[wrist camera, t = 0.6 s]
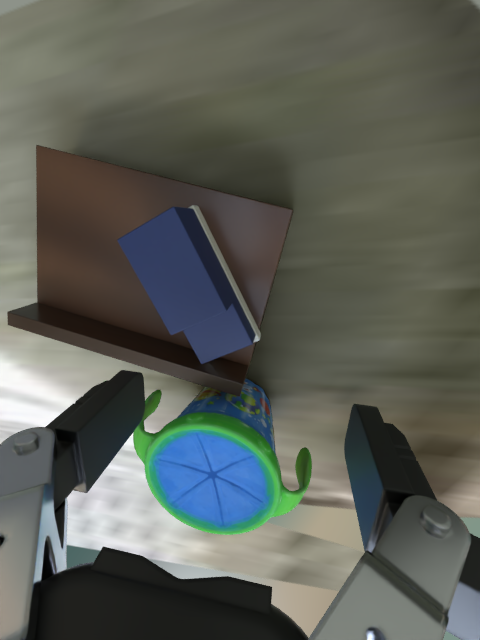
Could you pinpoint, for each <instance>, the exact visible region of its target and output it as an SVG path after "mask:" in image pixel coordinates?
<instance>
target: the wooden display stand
mask: <svg viewBox="0 0 480 640" xmlns="http://www.w3.org/2000/svg"><path fill="white" fill-rule="evenodd" d="M36 168H37V299H38V303H34V304H31V305H28V306H25V307H21V308H18V309H15V310H12V311H9V312H7V315H8V325H10V326H13V327H16V328H19V329H23V330H26V331H29V332H32V333H35V334H39V335H42V336H45V337H48V338H52V339H55V340H58V341H61V342H64V343H68V344H71V345H74V346H77V347H81V348H84V349H87V350H90V351H93V352H97V353H100V354H103V355H106V356H110V357H113V358H116V359H119V360H122V361H126V362H129V363H132V364H135V365H138V366H142V367H145V368H148V369H151V370H155V371H158V372H161V373H164V374H167V375H171V376H174V377H177V378H180V379H184V380H187V381H190V382H193V383H196V384H200V385H203V386H206V387H209V388H213V389H216V390H219V391H222V392H225V393H229V394H232V395H235V396H238V397H240V395H241V391H242V388H243V385H244V382H245V378H246V375H247V372H248V369H249V366H250V362H251V359H252V356H253V352H254V349H255V345H256V342H254V343H253V344H252V345H250V346H247V347H245V348H242V349H239V350H237V351H234V352H232V353H229V354H227V355H224V356H221V357H219V358H216V359H214V360H211V361H209V362H206V363H203V364H201V363H200V361H199V359H198V357H197V355H196V354H195V352H194V350H193V348H192V346H191V345H190V343H189V341H188V339H187V337H186V336H185V334H184V332H183V330H182V331H180V332H178V333H176V334H173V335H170V333H169V331H168V329H167V327H166V326H165V324H164V322H163V320H162V319H161V317H160V315H159V313H158V312H157V310H156V308H155V306H154V305H153V303H152V301H151V299H150V297H149V296H148V294H147V292H146V290H145V289H144V287H143V285H142V283H141V282H140V280H139V278H138V276H137V274H136V273H135V271H134V269H133V267H132V266H131V264H130V262H129V260H128V259H127V257H126V255H125V253H124V252H123V250H122V248H121V246H120V244H119V243H118V241H117V240H118V239H119V238H121V237H122V236H124V235H126V234H127V233H129V232H131V231H132V230H134V229H136V228H137V227H139V226H141V225H143V224H144V223H146V222H148V221H149V220H151V219H153V218H154V217H156V216H158V215H159V214H161V213H163V212H165V211H166V210H168V209H170V208H171V207H183V208H189V207H190V206H192V205H195V206H198V207H199V209H200V211H201V213H202V215H203V217H204V219H205V221H206V223H207V225H208V227H209V229H210V231H211V233H212V235H213V237H214V239H215V241H216V243H217V245H218V247H219V249H220V251H221V253H222V255H223V258H224V260H225V262H226V264H227V266H228V268H229V270H230V272H231V274H232V276H233V278H234V280H235V282H236V284H237V286H238V288H239V290H240V292H241V294H242V296H243V298H244V300H245V302H246V304H247V306H248V309H249V311H250V313H251V315H252V317H253V319H254V321H255V323H256V325H257V327H258V329H259V331H260V328H261V324H262V320H263V317H264V313H265V310H266V306H267V303H268V299H269V296H270V292H271V289H272V285H273V282H274V278H275V275H276V271H277V268H278V264H279V261H280V257H281V254H282V250H283V247H284V243H285V240H286V236H287V233H288V229H289V225H290V222H291V218H292V215H293V210H292V209H289V208H285V207H281V206H277V205H273V204H269V203H265V202H261V201H257V200H253V199H249V198H245V197H241V196H237V195H233V194H229V193H225V192H221V191H217V190H213V189H210V188H206V187H202V186H198V185H194V184H190V183H186V182H182V181H178V180H174V179H170V178H166V177H162V176H158V175H154V174H150V173H146V172H142V171H138V170H134V169H130V168H126V167H122V166H118V165H114V164H110V163H106V162H102V161H98V160H94V159H90V158H86V157H82V156H79V155H75V154H71V153H67V152H63V151H59V150H55V149H51V148H47V147H43V146H39V145H37V146H36Z"/></svg>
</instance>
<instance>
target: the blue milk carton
mask: <svg viewBox="0 0 480 640" xmlns="http://www.w3.org/2000/svg"><path fill="white" fill-rule="evenodd" d="M117 241H118V243H119V244H120V246H121V248H122V250H123V252H124V253H125V255H126V257H127V259H128V260H129V262H130V264H131V266H132V267H133V269H134V271H135V273H136V274H137V276H138V278H139V280H140V282H141V283H142V285H143V287H144V289H145V290H146V292H147V294H148V296H149V297H150V299H151V301H152V303H153V305H154V306H155V308H156V310H157V312H158V313H159V315H160V317H161V319H162V320H163V322H164V324H165V326H166V327H167V329H168V331H169V333H170V335H173V334H176V333H178V332H180V331H182V330H183V332H184V334H185V336H186V337H187V339H188V341H189V343H190V345H191V346H192V348H193V350H194V352H195V354H196V355H197V357H198V359H199V361H200V363H201V364H203V363H206V362H209V361H211V360H214V359H216V358H219V357H221V356H224V355H227V354H229V353H232V352H234V351H237V350H239V349H242V348H245V347H247V346H250V345H252V344H253V343H254V342H257V341H259V340H260V338H261V333H260V331H259V329H258V327H257V325H256V323H255V321H254V319H253V317H252V315H251V313H250V311H249V309H248V306H247V304H246V302H245V300H244V298H243V296H242V294H241V292H240V290H239V288H238V286H237V284H236V282H235V280H234V278H233V276H232V274H231V272H230V270H229V268H228V266H227V264H226V262H225V260H224V258H223V255H222V253H221V251H220V249H219V247H218V245H217V243H216V241H215V239H214V237H213V235H212V233H211V231H210V229H209V227H208V225H207V223H206V221H205V219H204V217H203V215H202V213H201V211H200V209H199V207H198V206H195V205H192V206H190V207H189V208H183V207H171V208H170V209H168V210H166V211H165V212H163V213H161V214H159V215H158V216H156V217H154V218H153V219H151V220H149V221H148V222H146V223H144V224H143V225H141V226H139V227H137V228H136V229H134V230H132V231H131V232H129V233H127V234H126V235H124V236H122V237H121V238H119V239H118V240H117Z"/></svg>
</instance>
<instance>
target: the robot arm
mask: <svg viewBox="0 0 480 640" xmlns="http://www.w3.org/2000/svg"><path fill="white" fill-rule="evenodd" d="M144 412H145V395H144V379H143V375H142V373H139V372H132V371H125V370H122V371H120V372H119V373H117V374H116V375H115V376H114V377H113V378H112V379H111V380H109V381H105V382H103V383H101V384H98V385H96V386H94V387H93V388H91V389H90V390H89V391H88V392H87V393H85V394H84V396H83V397H81V398H80V399H78V400H77V401H76V403H75V404H72V405H71V406H70V407H69V408H68V409H66V410H65V411H64V412H63V413H62V414H60V415H59V416H58V417H57V418H56V419H54V420H53V421H52V422H51V423H50V424H48V425H47V426H46V427H45V428H44V427H36V428H30V429H26V430H23V431H20V432H18V433H16V434H14V435H12V436H10V437H9V438H7V439H6V440H5V441H3V442H2V443H1V444H0V640H443V638H444V634H445V631H447V632H449V633H451V634H453V635H454V636H456V637H458V638H459V639H461V640H480V538H478V537H476V536H474V535H472V534H470V533H469V531H468V529H467V527H466V525H465V524H464V522H463V521H462V520H461V519H460V517H459V516H458V515H457V514H456V513H455V512H453V511H452V510H451V509H450V508H448V507H447V506H445V505H444V504H442V503H441V502H439V501H437V499H436V497H435V495H434V493H433V491H432V489H431V487H430V485H429V483H428V481H427V479H426V477H425V475H424V473H423V471H422V469H421V467H420V465H419V463H418V461H416V457H415V455H414V453H413V451H412V450H411V448H410V446H409V444H408V442H407V440H406V438H405V436H404V435H403V434H402V433H401V432H400V431H399V430H398V429H397V428H396V427H395V426H394V425H393V424H389V423H384V421H383V419H382V417H381V415H380V412H379V410H378V408H377V407H373V406H366V405H359V404H354V405H353V406H352V410H351V414H350V419H349V424H348V428H347V433H346V438H345V448H344V450H345V460H346V464H347V469H348V474H349V479H350V483H351V488H352V493H353V498H354V502H355V507H356V512H357V517H358V521H359V526H360V531H361V535H362V540H363V545H364V550H365V553H364V555H363V556H362V557H361V559H360V560H359V562H358V563H357V565H356V566H355V568H354V570H353V571H352V573H351V574H350V576H349V577H348V579H347V580H346V582H345V583H344V585H343V586H342V588H341V590H340V591H339V593H338V594H337V596H336V597H335V599H334V600H333V602H332V603H331V605H330V606H329V608H328V609H327V611H326V613H325V614H324V616H323V617H322V619H321V620H320V622H319V623H318V625H317V626H316V628H315V630H314V631H313V633H312V634H311V636H310V637H309V638H308V637H307V635H306V634H305V633H304V632H303V630H302V629H301V628H300V627H299V626H298V625H297V624H296V623H295V622H294V621H293V620H292V619H291V618H290V617H289V616H287V615H286V614H285V613H283V612H282V611H281V610H280V609H278V608H277V607H275V606H273V605H272V604H271V596H272V587H270V586H266V585H262V584H258V583H253V582H249V581H245V580H241V579H237V578H232V577H228V576H227V577H211V578H198V579H178V578H176V577H175V576H173V575H172V574H170V573H168V572H167V571H165V570H163V569H162V568H160V567H159V566H157V565H156V564H154V563H152V562H151V561H149V560H148V559H146V558H145V557H143V556H140V555H136V554H132V553H128V552H124V551H119V550H115V549H111V548H107V547H103V548H102V550H101V551H100V553H99V555H98V556H97V558H96V560H95V562H91V563H86V564H80V565H77V566H74V567H71V568H68V569H67V567H66V545H67V511H68V503H67V497H68V495H69V494H70V493H71V492H72V490H75V491H79V492H84V493H87V492H88V491H89V490H90V488H91V487H92V486H93V484H94V483H95V482H96V480H97V479H98V478H99V476H100V475H101V474H102V473H103V471H104V470H105V469H106V467H107V466H108V465H109V463H110V462H111V461H112V459H113V458H114V457H115V455H116V454H117V453H118V451H119V450H120V449H121V447H122V446H123V445H124V443H125V442H126V441H127V439H128V438H129V437H130V436H131V434H132V433H133V432H134V430H135V429H136V428H137V426H138V425H139V424H140V422H141V420H142V418H143V416H144Z"/></svg>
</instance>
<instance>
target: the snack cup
mask: <svg viewBox="0 0 480 640" xmlns="http://www.w3.org/2000/svg"><path fill="white" fill-rule="evenodd" d="M160 399H161V391H160V390H156V391H155V392H153V393H152V394H151V395H150V396H149V397H148V398H147V399H146V400H145V412H144V416H143V418H142V420H141V422H140V424H139V425H138V426H137V428H136V429H135V430H134V434H133V441H134V447H135V450H136V452H137V455H138V456H139V458H140V459H141V460H142V462H143V463H144V465H145V473H146V479H147V482H148V485H149V487H150V489H151V491H152V493H153V495H154V496H155V498H156V499H157V500H158V502H159V503H160V504H161V505H162V506H163V507H164V508H165V509H166V510H167V511H168V512H169V513H170V514H171V515H173V516H174V517H175V518H176V519H178V520H180V521H181V522H183V523H185V524H187V525H188V526H191V527H193V528H196V529H198V530H201V531H205V532H209V533H214V534H225V535H231V534H240V533H244V532H249V531H251V530H254V529H256V528H258V527H260V526H261V525H263V524H264V523H265V522H266V521H267V520H269V519H270V517H276V516H280V515H283V514H286V513H288V512H289V511H291V510H292V509H293V508H295V507H296V506H297V504H298V503H299V502H300V500H301V499H302V497H303V495H304V493H305V492H306V490H307V488H308V485H309V482H310V478H311V469H312V463H311V455H310V452H309V450H308V449H307V448H302V449H301V450H300V452H299V454H298V457H297V460H296V465H295V468H296V475H297V479H298V482H299V490H296V491H289V490H288V489H287V488H285V487H284V486H283V483H282V481H281V471H280V466H279V463H278V460H277V457H276V453H275V441H274V430H273V425H272V413H271V406H270V403H269V400H268V398H267V396H266V395H265V392H264V390H263V389H262V388H261V387H260V386H258V385H256V384H254V383H253V382H252V381H250V380H248V379H245V382H244V385H243V388H242V391H241V395H240V397H238V396H235V395H232V394H229V393H225V392H222V391H219V390H216V389H213V388H209V387H205V388H204V389H203V390H202V391H201V392H200V393H199V394H198V395H197V396H196V398H195V399H194V400H193V401H192V402H191V403H190V404H189V405H188V407H186V408H185V410H184V411H183V412H182V413H181V414H180V415H179V416H178V417H177V418H176V419H174V420H173V421H171V422H170V423H168V424H167V425H166V426H165V427H164V428H163V429H162V430H161V431H159V432H157V433H155V434H153V433H149V432H146V431H145V430H144V420H145V419H146V418H147V417H148V416H149V415H150V414H152V413H153V412H154V411H155V409H156V408H157V407H158V404H159V402H160Z"/></svg>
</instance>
